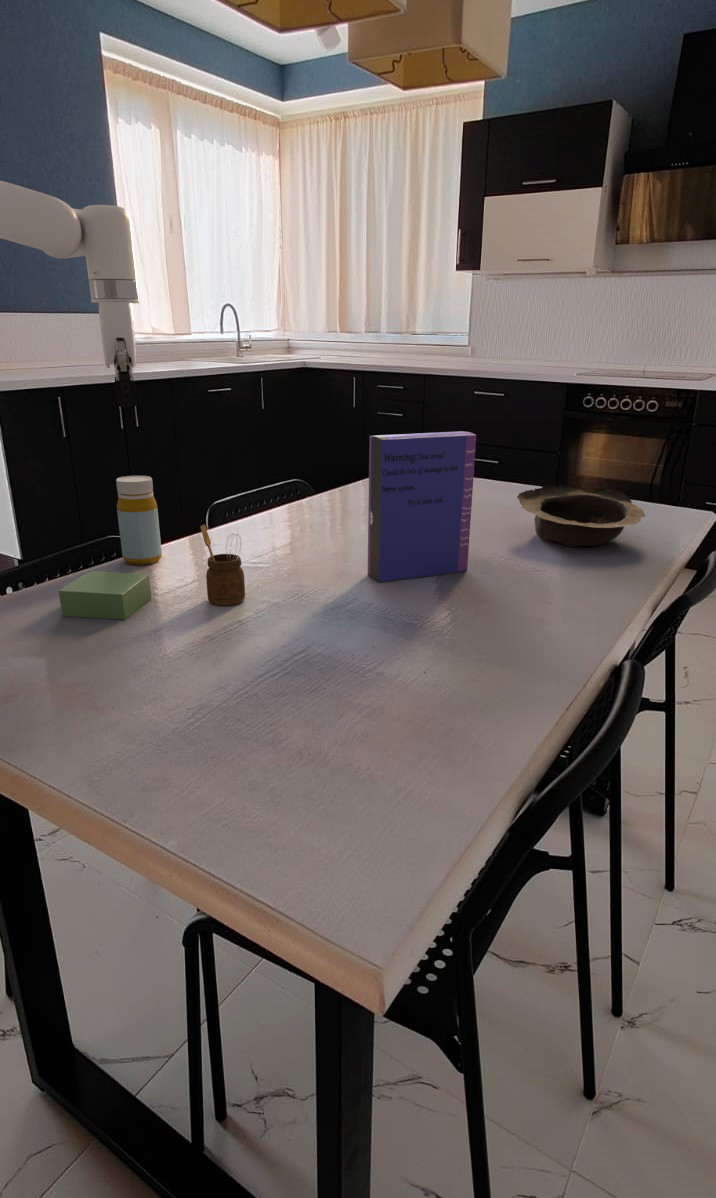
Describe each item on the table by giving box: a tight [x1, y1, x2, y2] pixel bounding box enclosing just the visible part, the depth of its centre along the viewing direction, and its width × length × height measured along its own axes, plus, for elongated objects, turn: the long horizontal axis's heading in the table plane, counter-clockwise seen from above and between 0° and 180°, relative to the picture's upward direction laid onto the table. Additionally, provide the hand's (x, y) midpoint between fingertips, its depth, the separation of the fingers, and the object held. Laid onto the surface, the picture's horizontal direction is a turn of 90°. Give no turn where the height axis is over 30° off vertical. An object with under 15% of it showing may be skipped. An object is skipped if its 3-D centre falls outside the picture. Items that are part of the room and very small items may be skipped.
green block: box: [58, 570, 152, 621], centre depth 118 cm, size 10×10×4 cm
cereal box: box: [367, 430, 477, 584], centre depth 132 cm, size 17×5×24 cm, turn 113°
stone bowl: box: [516, 483, 646, 548], centre depth 158 cm, size 25×25×9 cm
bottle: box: [115, 475, 163, 566], centre depth 140 cm, size 7×7×15 cm
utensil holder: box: [199, 524, 246, 607], centre depth 120 cm, size 6×6×12 cm
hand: (127, 403), depth 132 cm, fingers open, 9 cm apart
